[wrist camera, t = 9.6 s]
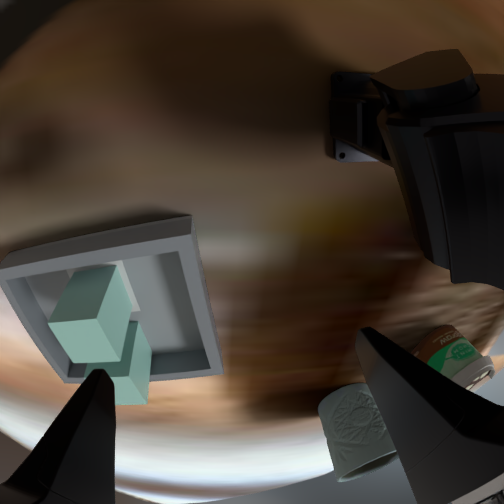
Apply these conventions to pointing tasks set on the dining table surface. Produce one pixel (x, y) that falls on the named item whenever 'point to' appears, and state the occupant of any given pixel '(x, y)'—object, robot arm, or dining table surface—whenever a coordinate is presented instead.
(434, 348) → the food container
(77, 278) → the block
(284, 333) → the dining table surface
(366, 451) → the grey green cylinder
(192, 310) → the tray
